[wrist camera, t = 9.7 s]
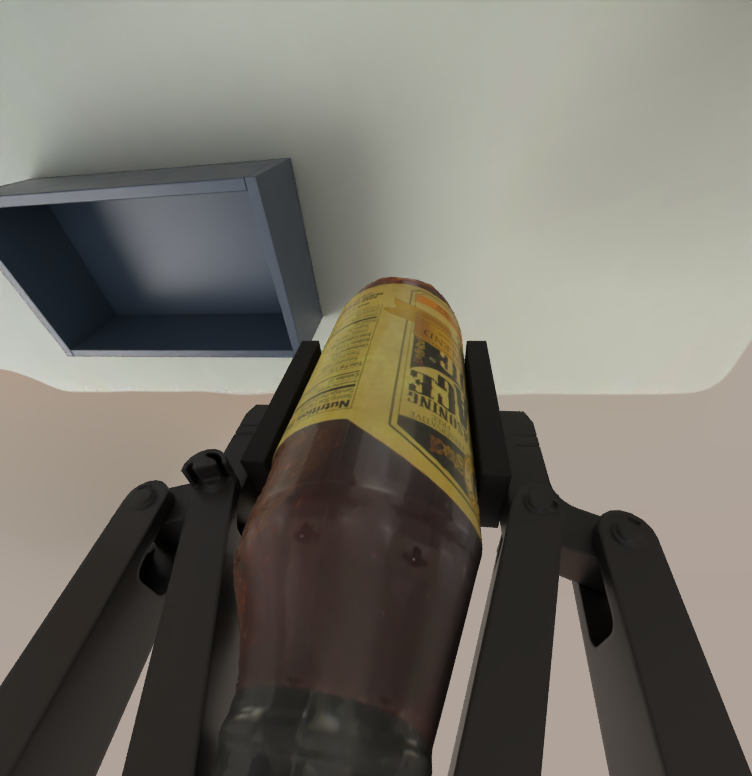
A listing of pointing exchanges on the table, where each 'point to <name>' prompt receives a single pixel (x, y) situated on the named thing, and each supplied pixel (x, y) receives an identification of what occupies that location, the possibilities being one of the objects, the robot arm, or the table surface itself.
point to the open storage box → (164, 260)
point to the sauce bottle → (359, 552)
